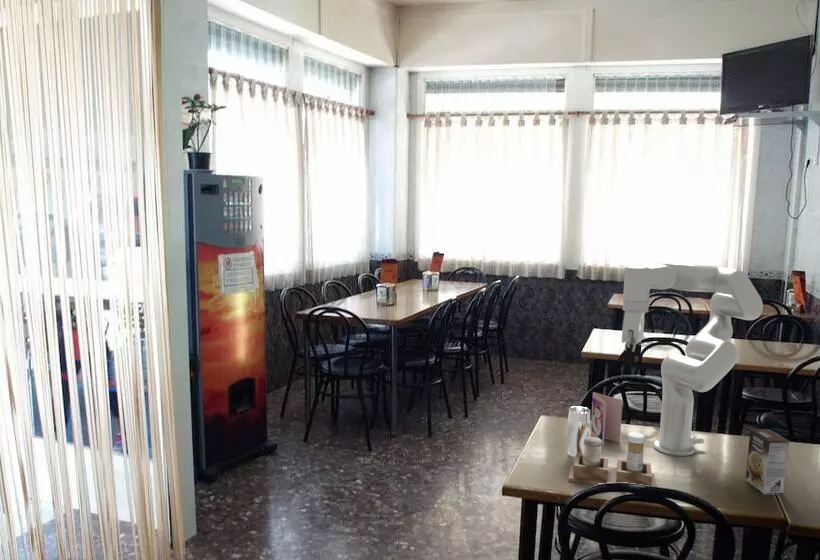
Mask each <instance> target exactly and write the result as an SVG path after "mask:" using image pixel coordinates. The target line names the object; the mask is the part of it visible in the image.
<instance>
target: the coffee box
mask: <svg viewBox="0 0 820 560" xmlns="http://www.w3.org/2000/svg"><path fill="white" fill-rule="evenodd" d="M789 444H790V440H788V438H785V437H784V436H782V435H780V434H778V433H777V432H776V431H774V430H772V429H771V428H751V429H749V439H748V450H747V460H746V461H747V462H746V472H745V482H746V481H747V482H746V483H748V482H749V483H750V484H751V485H750V484H749V483H748V484H749V485H750V486H752V485H753V486H754V487H755V488H754V487H753V486H752V487H753V488H754V489H756V488H757V489H758V490H760V491H761V492H762V493H781V492H782V493H783V494H784V489H785V478H786V471H787V461H788V455H789V453H788V452H789ZM757 489H756V490H757ZM758 490H757V491H758ZM761 492H760V493H761ZM762 493H761V494H762Z"/></svg>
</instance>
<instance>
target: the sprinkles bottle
mask: <svg viewBox="0 0 820 560" xmlns="http://www.w3.org/2000/svg"><path fill="white" fill-rule="evenodd" d="M645 439H646V437H645V434H643V433H641V432H637V431H635V432H634V431H633V432H629V433H628V436H627V442H628V445H627V453H626V454H627V455H626V460H627V470H626V471H630V472H637V473H642V466H643V462H644V445H645Z"/></svg>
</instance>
